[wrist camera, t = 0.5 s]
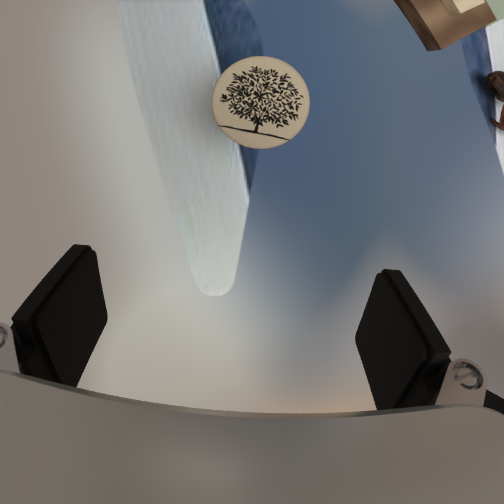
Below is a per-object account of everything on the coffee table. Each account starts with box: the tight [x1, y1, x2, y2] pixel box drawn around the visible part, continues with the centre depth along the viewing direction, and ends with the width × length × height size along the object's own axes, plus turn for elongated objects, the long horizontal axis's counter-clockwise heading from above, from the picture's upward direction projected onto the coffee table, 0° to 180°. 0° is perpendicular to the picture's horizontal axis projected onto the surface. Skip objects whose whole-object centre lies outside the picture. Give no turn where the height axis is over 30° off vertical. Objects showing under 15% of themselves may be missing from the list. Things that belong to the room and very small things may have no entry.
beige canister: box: [212, 56, 310, 149], centre depth 31 cm, size 8×8×18 cm
